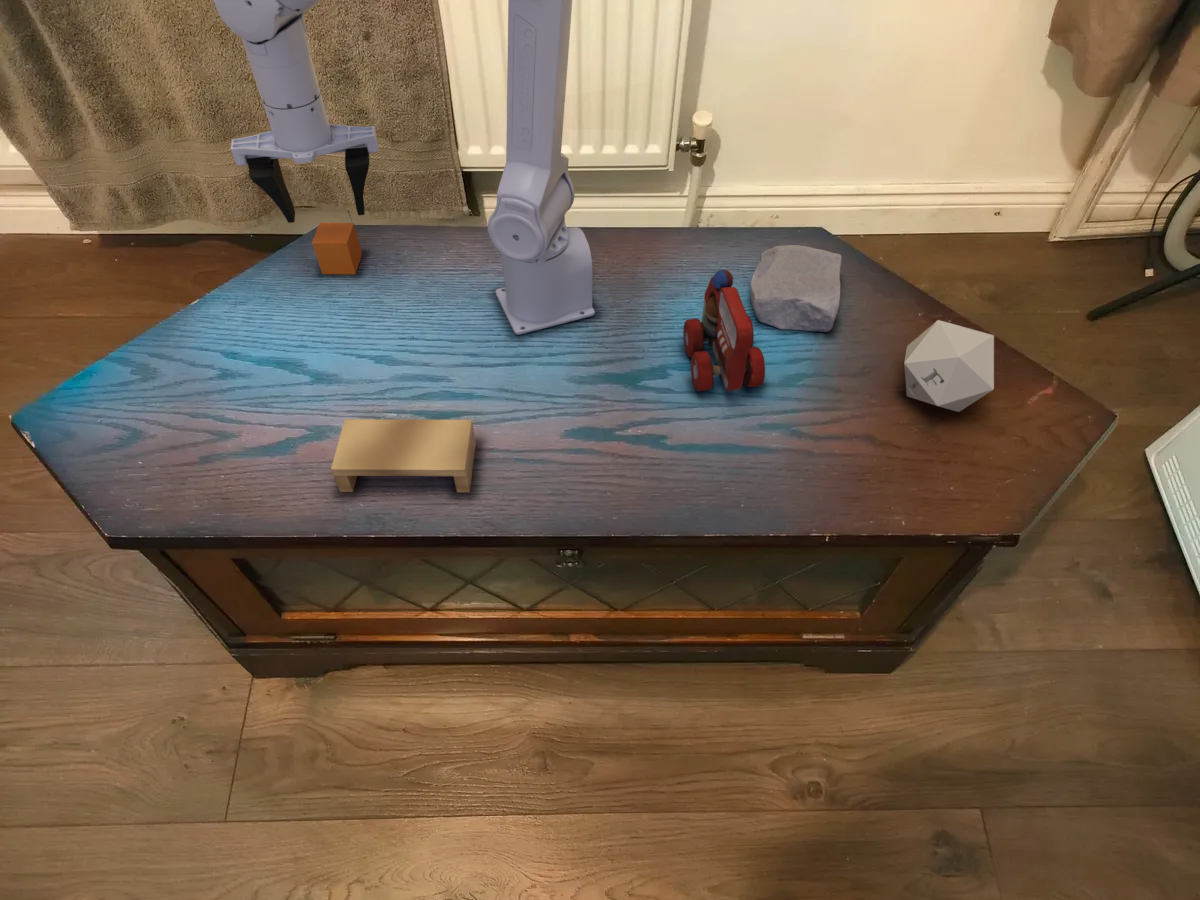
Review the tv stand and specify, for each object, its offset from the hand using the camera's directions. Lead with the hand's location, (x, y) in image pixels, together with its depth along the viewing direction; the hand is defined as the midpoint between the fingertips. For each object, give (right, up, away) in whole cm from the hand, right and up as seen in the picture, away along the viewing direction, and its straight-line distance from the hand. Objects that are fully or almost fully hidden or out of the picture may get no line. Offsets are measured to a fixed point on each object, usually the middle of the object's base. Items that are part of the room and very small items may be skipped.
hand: (326, 213), depth 88 cm
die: (+66, -21, -7) cm, 69 cm away
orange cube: (0, -4, +6) cm, 7 cm away
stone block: (+53, -9, +3) cm, 54 cm away
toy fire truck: (+44, -18, -5) cm, 47 cm away
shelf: (+13, -28, -14) cm, 34 cm away
